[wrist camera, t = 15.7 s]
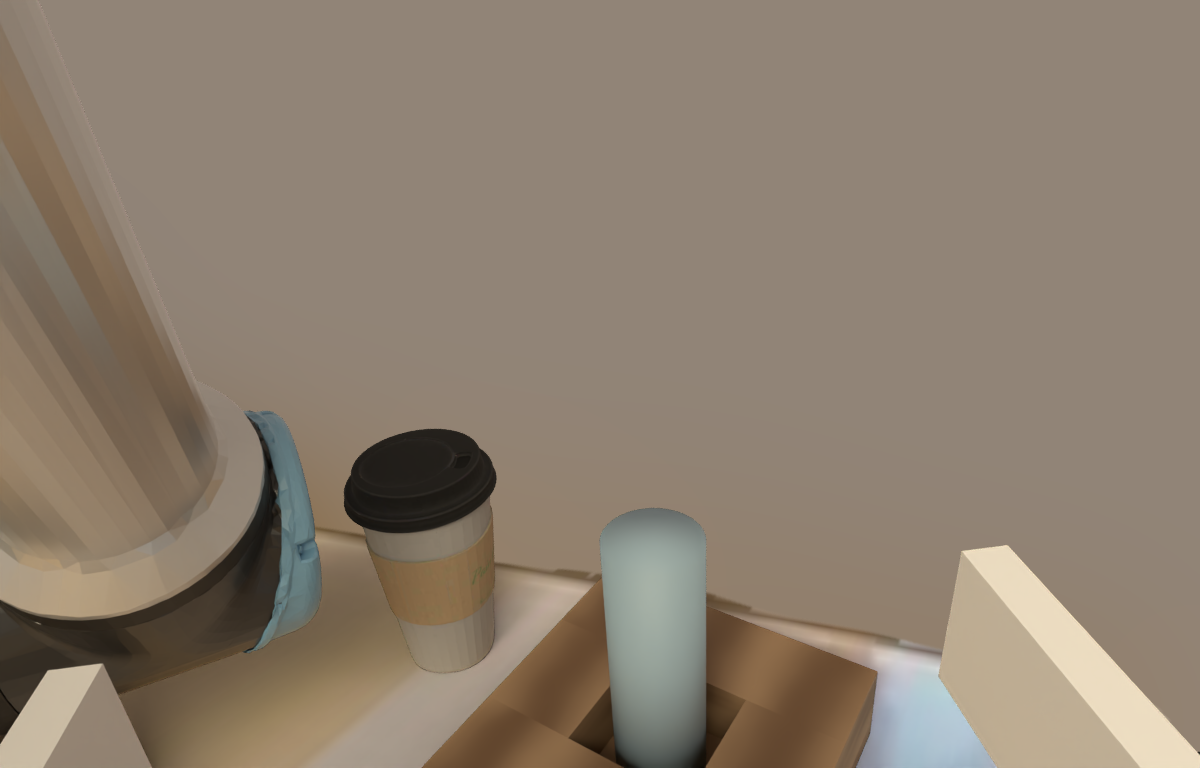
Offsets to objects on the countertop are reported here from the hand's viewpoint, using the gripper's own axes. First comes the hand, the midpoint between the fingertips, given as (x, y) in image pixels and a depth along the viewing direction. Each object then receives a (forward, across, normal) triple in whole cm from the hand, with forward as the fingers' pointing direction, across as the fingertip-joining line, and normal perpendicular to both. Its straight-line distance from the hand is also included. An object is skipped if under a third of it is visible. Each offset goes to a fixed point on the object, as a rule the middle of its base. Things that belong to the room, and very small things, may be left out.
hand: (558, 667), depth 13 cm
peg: (+20, +5, -30) cm, 37 cm away
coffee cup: (+34, -8, -32) cm, 47 cm away
